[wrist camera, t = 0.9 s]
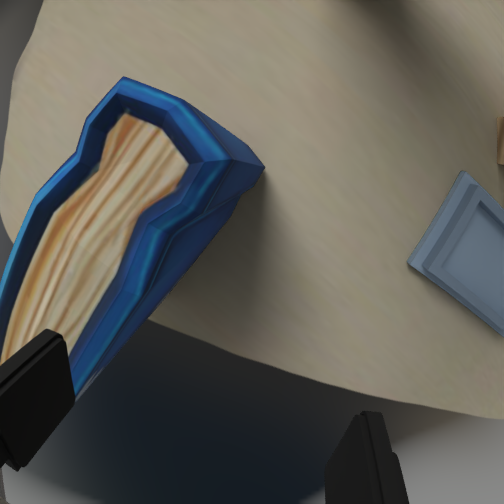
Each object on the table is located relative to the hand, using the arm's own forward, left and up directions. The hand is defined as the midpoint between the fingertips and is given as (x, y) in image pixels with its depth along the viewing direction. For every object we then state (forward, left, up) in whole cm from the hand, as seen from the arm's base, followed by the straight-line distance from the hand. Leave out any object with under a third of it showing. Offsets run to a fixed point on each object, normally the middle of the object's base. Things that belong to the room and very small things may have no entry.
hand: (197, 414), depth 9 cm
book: (+3, -8, -28) cm, 30 cm away
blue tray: (-12, +27, -28) cm, 41 cm away
